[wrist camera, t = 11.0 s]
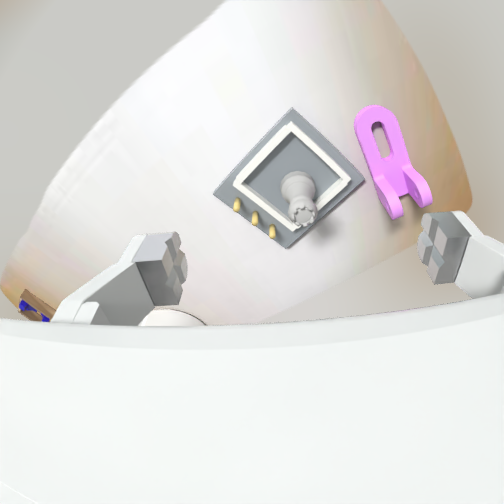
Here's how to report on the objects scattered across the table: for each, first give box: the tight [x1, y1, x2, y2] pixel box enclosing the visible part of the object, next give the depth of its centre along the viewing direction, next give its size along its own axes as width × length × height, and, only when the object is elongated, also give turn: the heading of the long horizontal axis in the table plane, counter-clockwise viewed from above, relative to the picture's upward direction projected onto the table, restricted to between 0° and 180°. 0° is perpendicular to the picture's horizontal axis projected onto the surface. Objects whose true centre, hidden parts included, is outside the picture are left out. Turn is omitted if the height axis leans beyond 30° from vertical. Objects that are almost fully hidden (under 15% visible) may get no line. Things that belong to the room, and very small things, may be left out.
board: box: [213, 108, 365, 249], centre depth 38 cm, size 15×13×4 cm
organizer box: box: [18, 289, 56, 322], centre depth 58 cm, size 7×11×2 cm, turn 50°
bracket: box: [354, 105, 432, 220], centre depth 33 cm, size 13×6×7 cm, turn 28°
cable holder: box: [19, 300, 51, 322], centre depth 57 cm, size 8×4×4 cm, turn 50°
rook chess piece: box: [280, 171, 318, 228], centre depth 36 cm, size 4×4×8 cm
